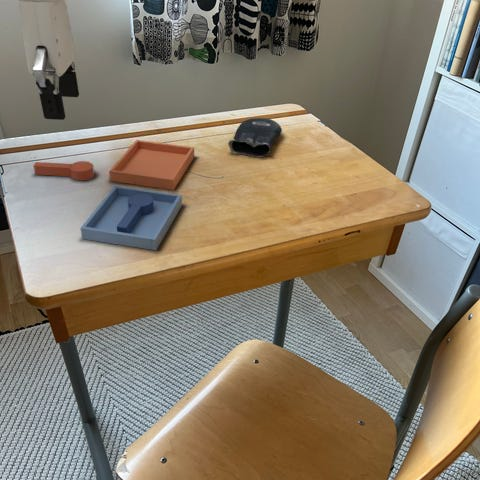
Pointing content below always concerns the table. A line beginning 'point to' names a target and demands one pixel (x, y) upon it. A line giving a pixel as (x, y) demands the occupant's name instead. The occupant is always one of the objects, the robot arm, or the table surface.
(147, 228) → the blue tray
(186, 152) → the terracotta tray
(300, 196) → the table surface
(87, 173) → the spoon terracotta
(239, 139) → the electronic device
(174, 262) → the table surface
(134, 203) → the dark blue paddle
